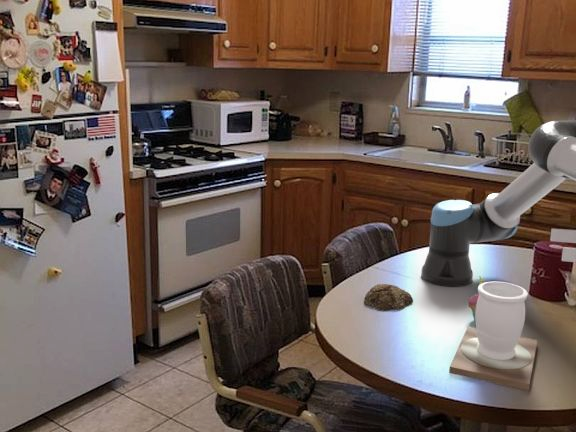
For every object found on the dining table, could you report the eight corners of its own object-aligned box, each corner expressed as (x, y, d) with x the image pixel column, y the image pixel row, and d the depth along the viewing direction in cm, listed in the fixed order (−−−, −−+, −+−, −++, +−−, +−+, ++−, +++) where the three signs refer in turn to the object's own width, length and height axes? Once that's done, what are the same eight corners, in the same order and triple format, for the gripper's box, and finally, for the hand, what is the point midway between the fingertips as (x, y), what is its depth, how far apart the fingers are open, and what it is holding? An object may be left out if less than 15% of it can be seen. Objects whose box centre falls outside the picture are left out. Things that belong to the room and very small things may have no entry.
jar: (523, 365, 132) (531, 300, 128) (473, 360, 134) (480, 296, 130) (516, 343, 142) (523, 282, 138) (470, 339, 144) (475, 278, 140)
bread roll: (379, 290, 178) (380, 274, 177) (418, 301, 170) (419, 284, 169) (354, 303, 169) (355, 286, 167) (394, 316, 161) (395, 298, 160)
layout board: (467, 332, 151) (467, 326, 151) (536, 345, 145) (537, 339, 144) (449, 372, 132) (449, 365, 132) (528, 390, 126) (529, 383, 125)
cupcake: (465, 324, 156) (469, 280, 153) (467, 312, 163) (471, 269, 160) (501, 330, 153) (506, 284, 150) (502, 316, 160) (506, 273, 157)
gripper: (688, 292, 114) (565, 281, 118) (646, 251, 137) (544, 243, 142) (696, 254, 112) (570, 244, 116) (652, 218, 135) (548, 212, 140)
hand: (556, 243), depth 129 cm, fingers open, 13 cm apart
